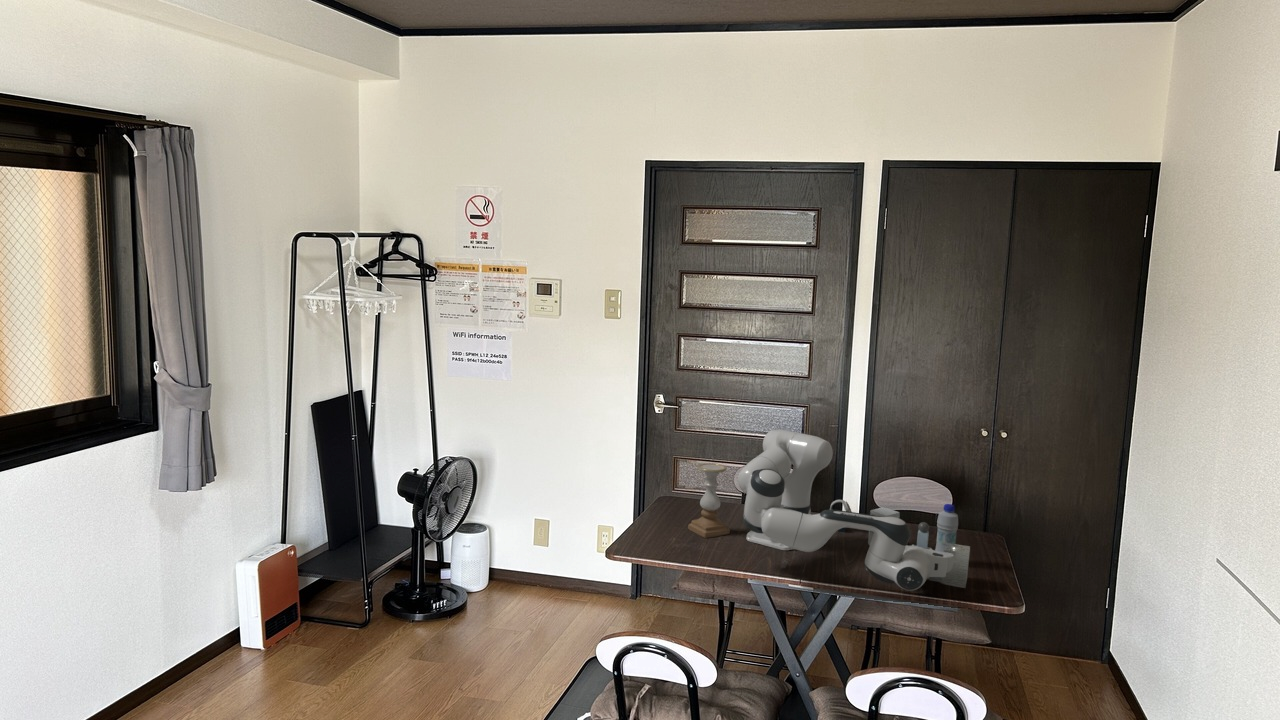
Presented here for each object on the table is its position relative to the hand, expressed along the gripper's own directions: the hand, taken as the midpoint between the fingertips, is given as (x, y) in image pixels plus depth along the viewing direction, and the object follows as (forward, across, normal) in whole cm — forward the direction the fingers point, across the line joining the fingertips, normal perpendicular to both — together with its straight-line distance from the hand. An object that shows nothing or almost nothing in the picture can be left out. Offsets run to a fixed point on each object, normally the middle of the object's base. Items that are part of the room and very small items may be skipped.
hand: (922, 548), depth 268 cm
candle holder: (+5, -73, -10) cm, 74 cm away
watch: (+34, -32, -10) cm, 48 cm away
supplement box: (+24, -15, -10) cm, 30 cm away
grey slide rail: (+1, -1, -9) cm, 9 cm away
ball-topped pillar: (0, +1, -8) cm, 8 cm away
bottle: (+18, +6, -9) cm, 21 cm away
